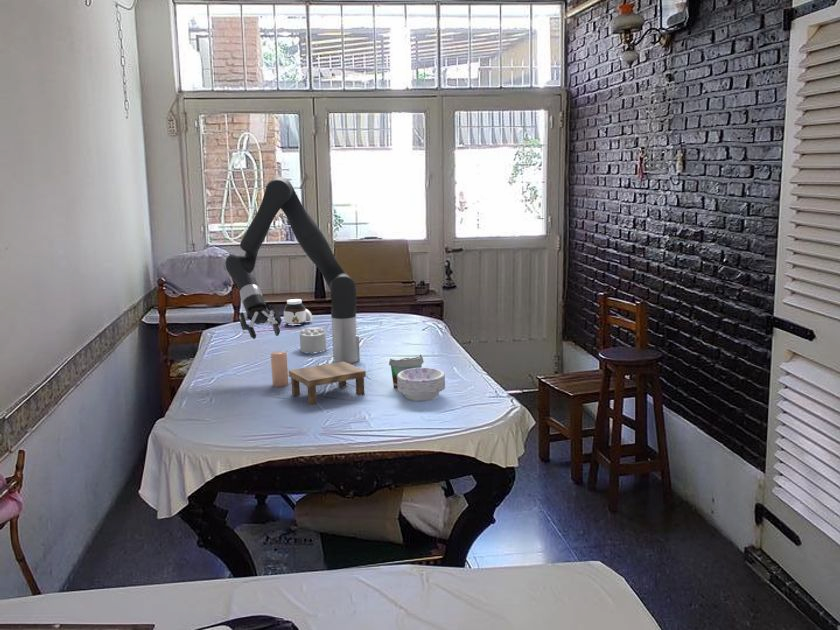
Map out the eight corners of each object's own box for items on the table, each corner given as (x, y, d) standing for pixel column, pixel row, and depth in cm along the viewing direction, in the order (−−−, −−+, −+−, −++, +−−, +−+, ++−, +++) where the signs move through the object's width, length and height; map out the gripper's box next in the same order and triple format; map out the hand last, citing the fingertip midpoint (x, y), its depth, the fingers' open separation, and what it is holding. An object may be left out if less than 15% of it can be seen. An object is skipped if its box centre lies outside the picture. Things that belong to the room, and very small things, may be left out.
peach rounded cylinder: (284, 381, 282) (283, 350, 280) (290, 384, 278) (289, 353, 276) (270, 384, 279) (268, 352, 277) (276, 387, 275) (274, 355, 273)
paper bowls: (408, 406, 249) (408, 382, 248) (390, 394, 263) (390, 370, 262) (453, 400, 255) (452, 375, 254) (433, 388, 269) (432, 365, 268)
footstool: (344, 384, 277) (343, 361, 275) (366, 394, 263) (365, 370, 262) (289, 393, 267) (288, 370, 265) (310, 405, 253) (308, 380, 252)
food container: (397, 392, 265) (396, 362, 264) (389, 387, 271) (388, 358, 269) (430, 386, 271) (430, 357, 269) (422, 382, 276) (421, 354, 274)
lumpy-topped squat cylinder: (326, 345, 336) (325, 325, 334) (326, 353, 323) (324, 331, 321) (301, 347, 335) (300, 326, 333) (299, 354, 322) (298, 333, 320)
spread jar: (282, 326, 378) (281, 301, 376) (290, 321, 389) (289, 297, 387) (307, 326, 376) (306, 301, 374) (314, 321, 387) (313, 297, 385)
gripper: (235, 295, 286) (249, 332, 278) (273, 291, 293) (287, 327, 285) (231, 308, 291) (244, 345, 284) (269, 303, 298) (282, 339, 291)
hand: (266, 336), depth 284 cm, fingers open, 8 cm apart
